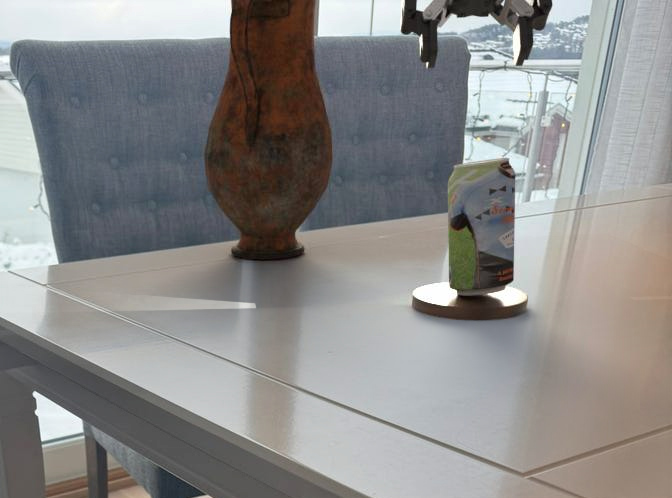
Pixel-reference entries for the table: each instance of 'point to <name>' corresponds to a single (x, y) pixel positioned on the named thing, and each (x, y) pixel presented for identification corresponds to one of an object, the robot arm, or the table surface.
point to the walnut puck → (468, 303)
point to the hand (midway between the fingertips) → (476, 60)
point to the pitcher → (269, 128)
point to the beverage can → (481, 226)
